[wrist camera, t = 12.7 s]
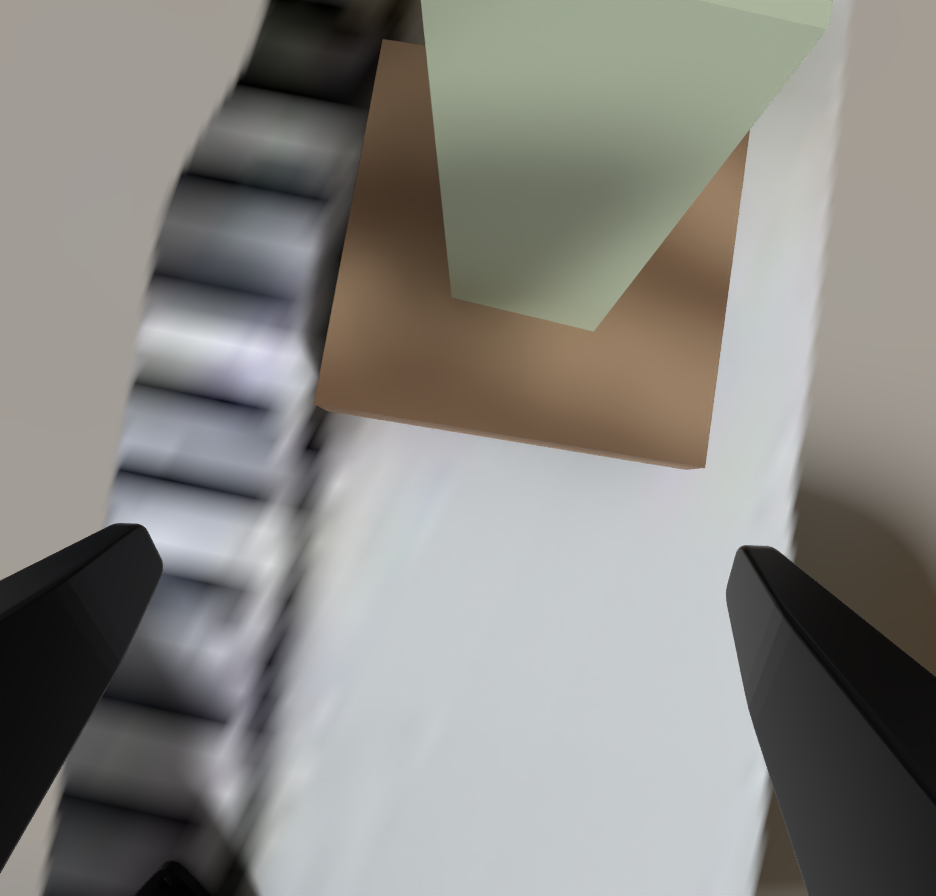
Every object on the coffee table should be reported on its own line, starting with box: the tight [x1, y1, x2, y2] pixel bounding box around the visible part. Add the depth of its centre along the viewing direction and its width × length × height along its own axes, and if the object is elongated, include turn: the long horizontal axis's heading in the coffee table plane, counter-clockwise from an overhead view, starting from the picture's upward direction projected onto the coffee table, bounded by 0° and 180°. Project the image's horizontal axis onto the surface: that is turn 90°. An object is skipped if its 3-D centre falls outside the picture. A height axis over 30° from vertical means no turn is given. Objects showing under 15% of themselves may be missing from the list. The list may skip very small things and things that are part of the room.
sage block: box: [421, 0, 833, 331], centre depth 11 cm, size 4×4×11 cm
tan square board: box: [314, 39, 750, 470], centre depth 18 cm, size 12×12×3 cm
